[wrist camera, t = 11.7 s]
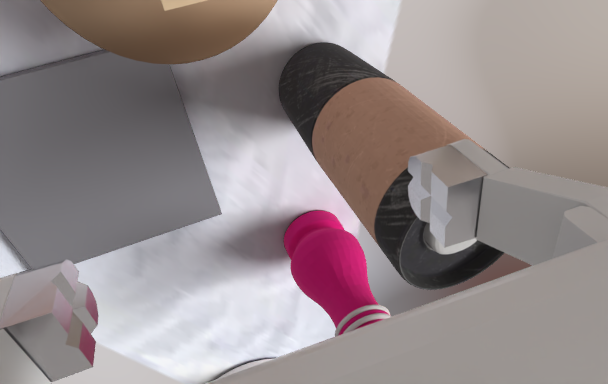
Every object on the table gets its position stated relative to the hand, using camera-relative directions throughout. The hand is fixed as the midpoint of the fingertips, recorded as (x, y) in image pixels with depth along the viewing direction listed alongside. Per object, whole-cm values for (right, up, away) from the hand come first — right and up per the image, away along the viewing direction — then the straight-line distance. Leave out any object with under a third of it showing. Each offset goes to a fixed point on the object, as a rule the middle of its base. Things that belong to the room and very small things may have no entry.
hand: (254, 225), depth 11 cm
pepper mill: (+2, -3, +36) cm, 36 cm away
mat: (-15, +3, +24) cm, 28 cm away
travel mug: (+2, +10, +26) cm, 28 cm away
